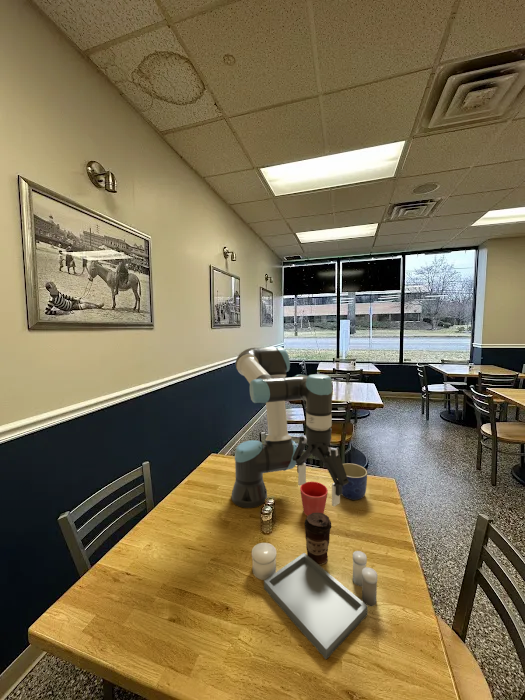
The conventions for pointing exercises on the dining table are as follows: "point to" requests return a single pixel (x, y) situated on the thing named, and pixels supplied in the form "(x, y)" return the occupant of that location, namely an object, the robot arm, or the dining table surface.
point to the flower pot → (313, 497)
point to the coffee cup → (317, 536)
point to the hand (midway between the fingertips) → (317, 493)
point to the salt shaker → (358, 566)
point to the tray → (316, 603)
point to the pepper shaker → (369, 586)
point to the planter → (355, 481)
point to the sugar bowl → (264, 560)
